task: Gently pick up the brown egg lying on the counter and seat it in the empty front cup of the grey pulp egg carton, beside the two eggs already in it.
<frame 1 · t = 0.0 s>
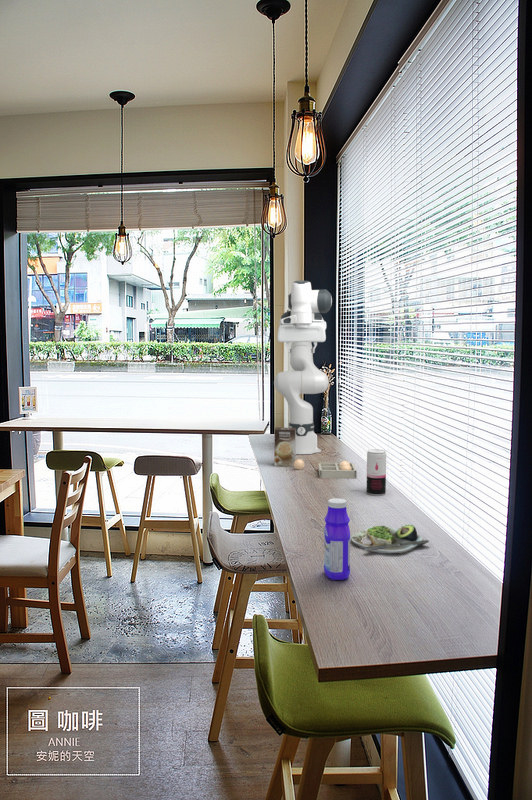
hand: (301, 353, 238), 48 cm above the counter, tool pointing down, fingers open, 8 cm apart
coffee box: (285, 465, 244), on the counter
egg 2: (345, 476, 222), point 1 cm above the counter, touching carton
avocado toast plate: (388, 544, 150), on the counter
beverage can: (376, 493, 199), on the counter
bottle: (336, 576, 129), on the counter
egg 1: (344, 472, 228), point 1 cm above the counter, touching carton
carton: (336, 475, 225), on the counter
egg: (298, 470, 235), on the counter
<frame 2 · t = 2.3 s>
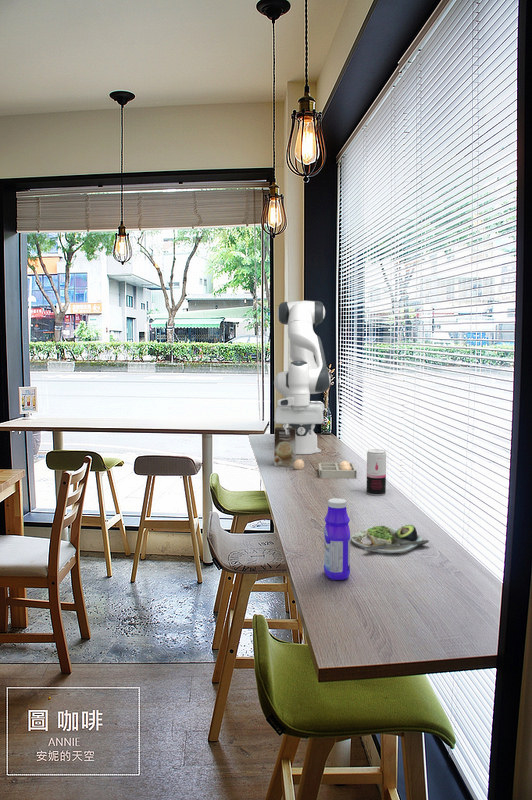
hand: (298, 434, 233), 15 cm above the counter, tool pointing down, fingers open, 8 cm apart
nothing on the counter moved.
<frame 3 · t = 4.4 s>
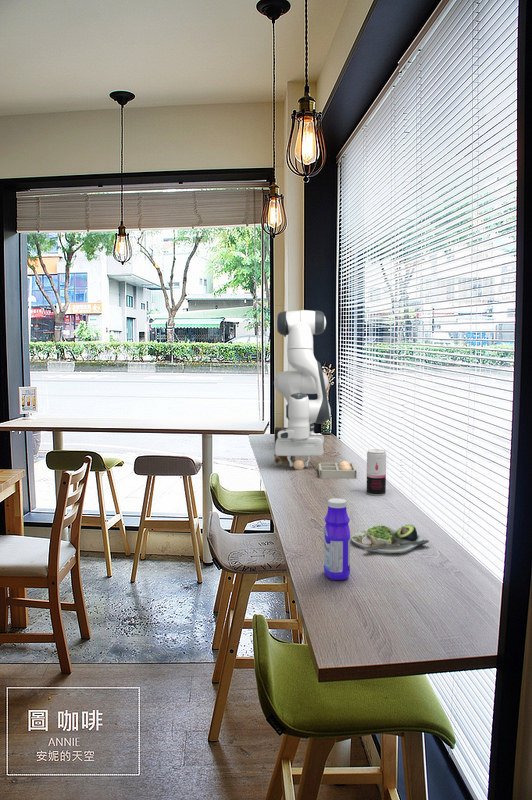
hand: (298, 466, 235), 2 cm above the counter, tool pointing down, fingers closed on egg, 5 cm apart
egg: (298, 470, 235), on the counter, touching gripper
everything else where it was.
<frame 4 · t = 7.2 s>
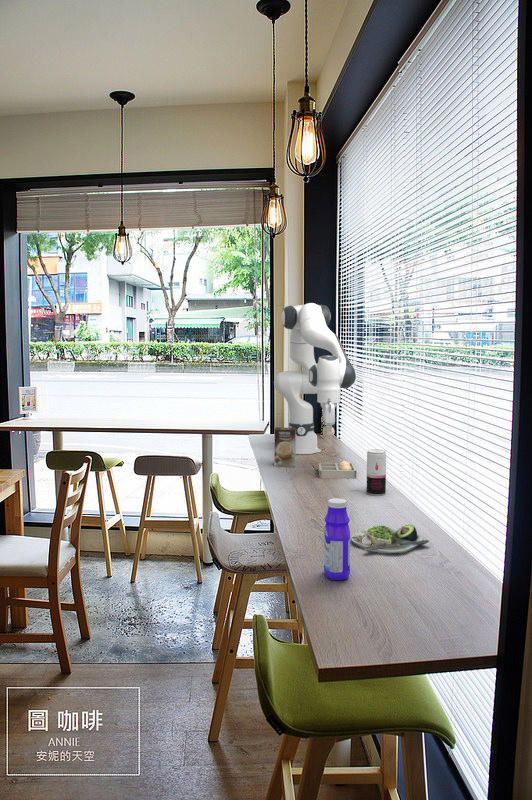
hand: (328, 433, 220), 17 cm above the counter, tool pointing down, fingers closed on egg, 5 cm apart
egg: (328, 437, 220), point 16 cm above the counter, touching gripper
everything else where it was.
when the fingers open (5 cm above the counter, at t = 10.5 s): egg drops 3 cm, resting on carton.
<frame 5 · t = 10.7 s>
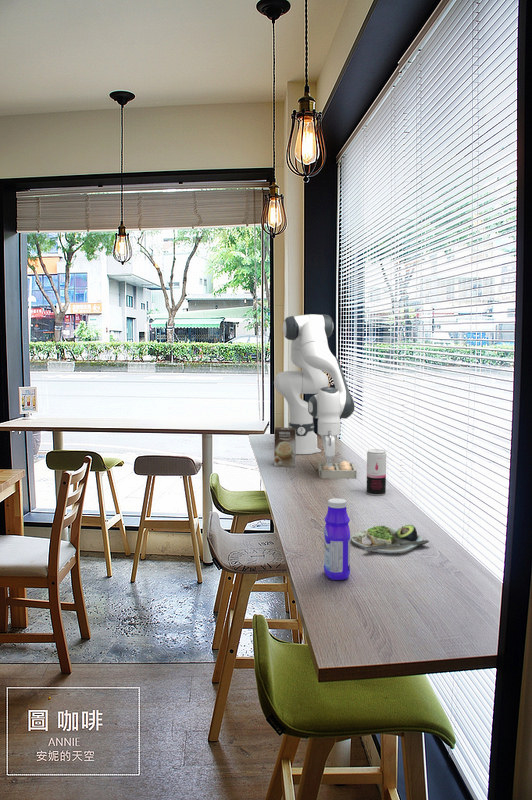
hand: (328, 464, 222), 5 cm above the counter, tool pointing down, fingers open, 7 cm apart
egg: (328, 475, 222), point 1 cm above the counter, touching carton
everything else where it was.
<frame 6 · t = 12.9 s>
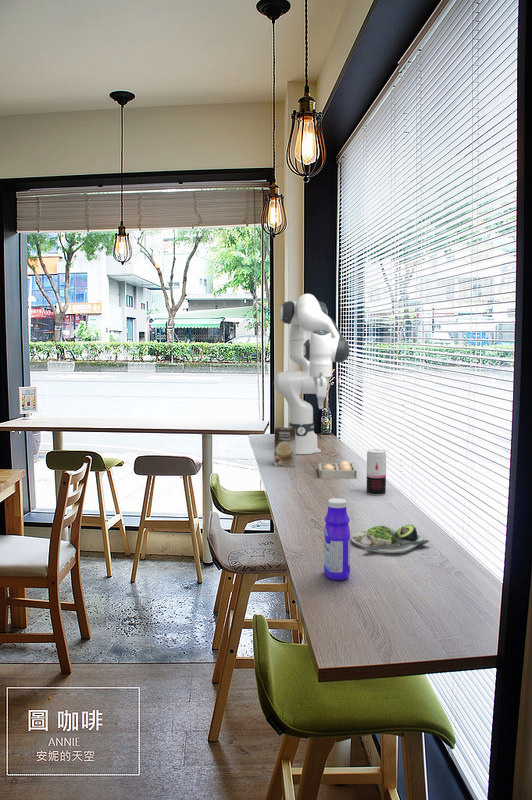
hand: (320, 406, 225), 27 cm above the counter, tool pointing down, fingers open, 8 cm apart
egg: (328, 475, 222), point 1 cm above the counter, tilted 11°, touching carton
everything else where it was.
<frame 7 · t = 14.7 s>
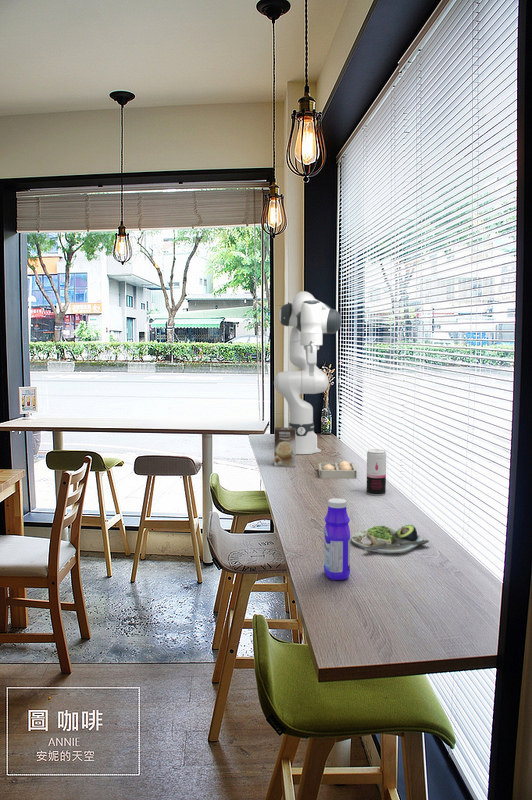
hand: (311, 375, 230), 39 cm above the counter, tool pointing down, fingers open, 8 cm apart
egg: (328, 475, 222), point 1 cm above the counter, touching carton
everything else where it was.
at the end: egg 0.1 cm from the target spot on the carton, point 0.6 cm above the carton's base; egg point 0.6 cm above the counter; the gripper is holding nothing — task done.
